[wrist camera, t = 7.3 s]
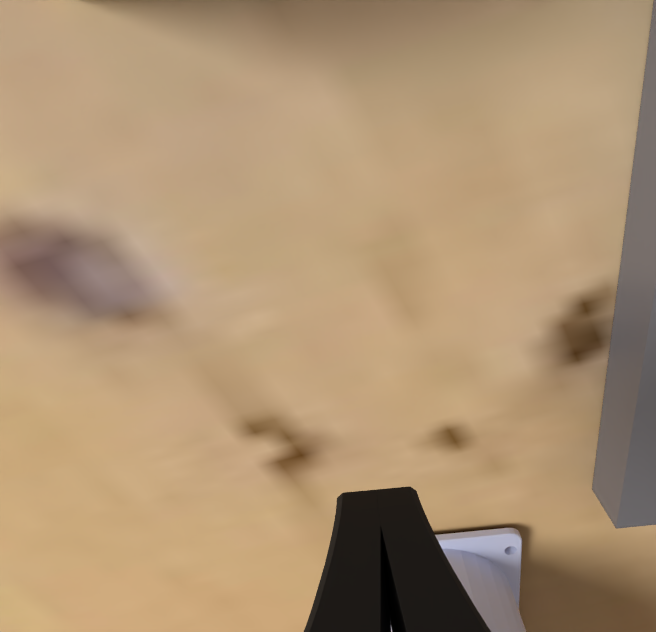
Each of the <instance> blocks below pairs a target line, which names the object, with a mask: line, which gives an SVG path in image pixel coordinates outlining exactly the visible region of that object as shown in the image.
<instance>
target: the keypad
mask: <svg viewBox="0 0 656 632" xmlns="http://www.w3.org/2000/svg"><path fill="white" fill-rule="evenodd" d="M592 490H593V492H594V493H595V495H596V497H597V498H598V500H599V501H600V503H601V505H602V506H603V508H604V510H605V511H606V513H607V514H608V516H609V518H610V519H611V521H612V523H613V524H614V526H615V528H626V527H636V526H646V525H656V0H654V3H653V11H652V19H651V27H650V35H649V43H648V51H647V59H646V66H645V74H644V82H643V90H642V98H641V106H640V114H639V122H638V130H637V138H636V146H635V153H634V161H633V169H632V177H631V185H630V193H629V201H628V209H627V217H626V225H625V233H624V240H623V248H622V256H621V264H620V272H619V280H618V288H617V296H616V304H615V312H614V320H613V327H612V335H611V343H610V351H609V359H608V367H607V375H606V383H605V391H604V399H603V407H602V414H601V422H600V430H599V438H598V446H597V454H596V462H595V470H594V478H593V486H592Z"/></svg>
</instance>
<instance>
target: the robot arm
mask: <svg viewBox="0 0 656 632" xmlns="http://www.w3.org/2000/svg"><path fill="white" fill-rule="evenodd" d="M521 554H522V538H521V535H520V533H519V531H518V530H517V529H514V528H499V529H489V530H479V531H469V532H459V533H449V534H439V535H435V534H434V532H433V530H432V528H431V526H430V524H429V522H428V519H427V517H426V515H425V513H424V510H423V508H422V505H421V503H420V500H419V497H418V494H417V491H416V490H414V489H413V488H411V487H401V488H390V489H379V490H368V491H358V492H347V493H342V494H341V495H340V496H339V497H338V498H337V506H336V515H335V521H334V527H333V532H332V537H331V541H330V546H329V550H328V554H327V558H326V562H325V566H324V569H323V573H322V576H321V580H320V583H319V586H318V590H317V593H316V597H315V600H314V603H313V607H312V610H311V613H310V616H309V619H308V622H307V625H306V627H305V630H304V632H526V630H525V627H524V624H523V621H522V618H521V615H520V612H519V597H520V576H521Z"/></svg>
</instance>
